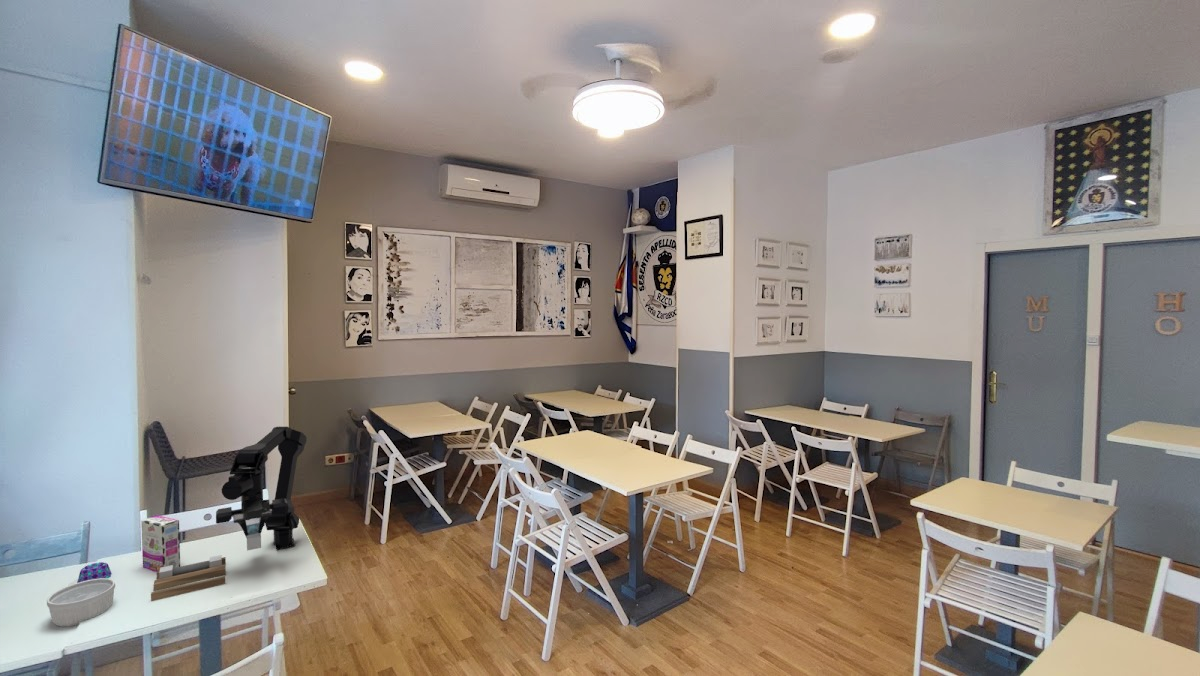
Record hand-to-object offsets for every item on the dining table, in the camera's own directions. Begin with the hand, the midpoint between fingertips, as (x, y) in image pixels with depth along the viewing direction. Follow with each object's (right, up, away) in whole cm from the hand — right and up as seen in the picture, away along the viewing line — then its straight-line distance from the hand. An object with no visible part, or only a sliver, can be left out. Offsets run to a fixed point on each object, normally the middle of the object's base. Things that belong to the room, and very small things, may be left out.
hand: (253, 536), depth 169 cm
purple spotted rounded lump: (-43, -11, -8) cm, 45 cm away
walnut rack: (-13, -11, -8) cm, 19 cm away
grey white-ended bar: (-16, -10, -5) cm, 19 cm away
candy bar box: (-28, -11, -1) cm, 30 cm away
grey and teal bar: (0, -1, 0) cm, 1 cm away
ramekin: (-30, -12, -25) cm, 41 cm away
